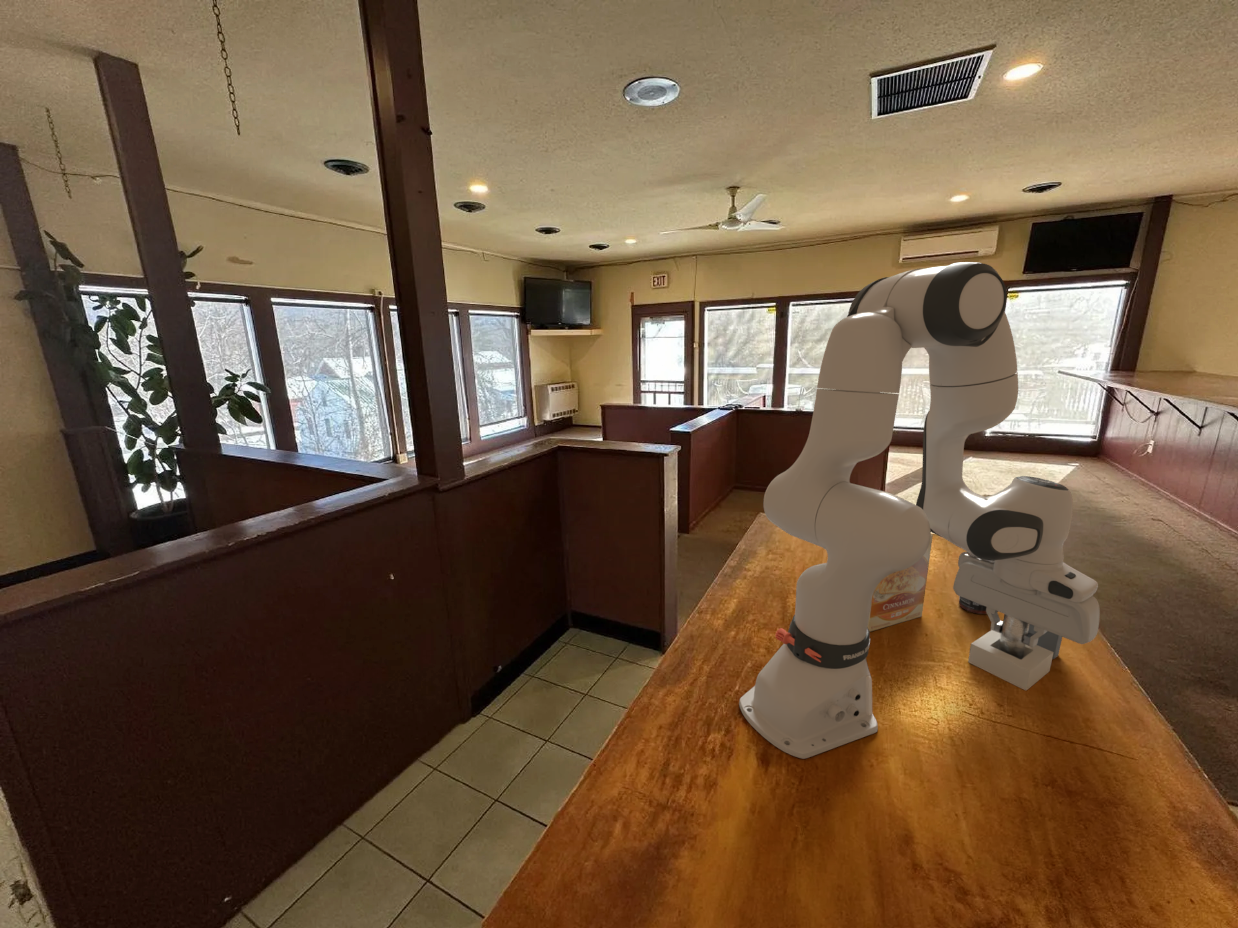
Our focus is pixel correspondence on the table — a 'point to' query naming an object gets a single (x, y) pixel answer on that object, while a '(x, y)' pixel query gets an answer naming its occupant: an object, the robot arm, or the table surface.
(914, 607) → the coffeecake box
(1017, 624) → the peg
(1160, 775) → the table surface
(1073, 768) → the table surface
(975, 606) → the supplement bottle
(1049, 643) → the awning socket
